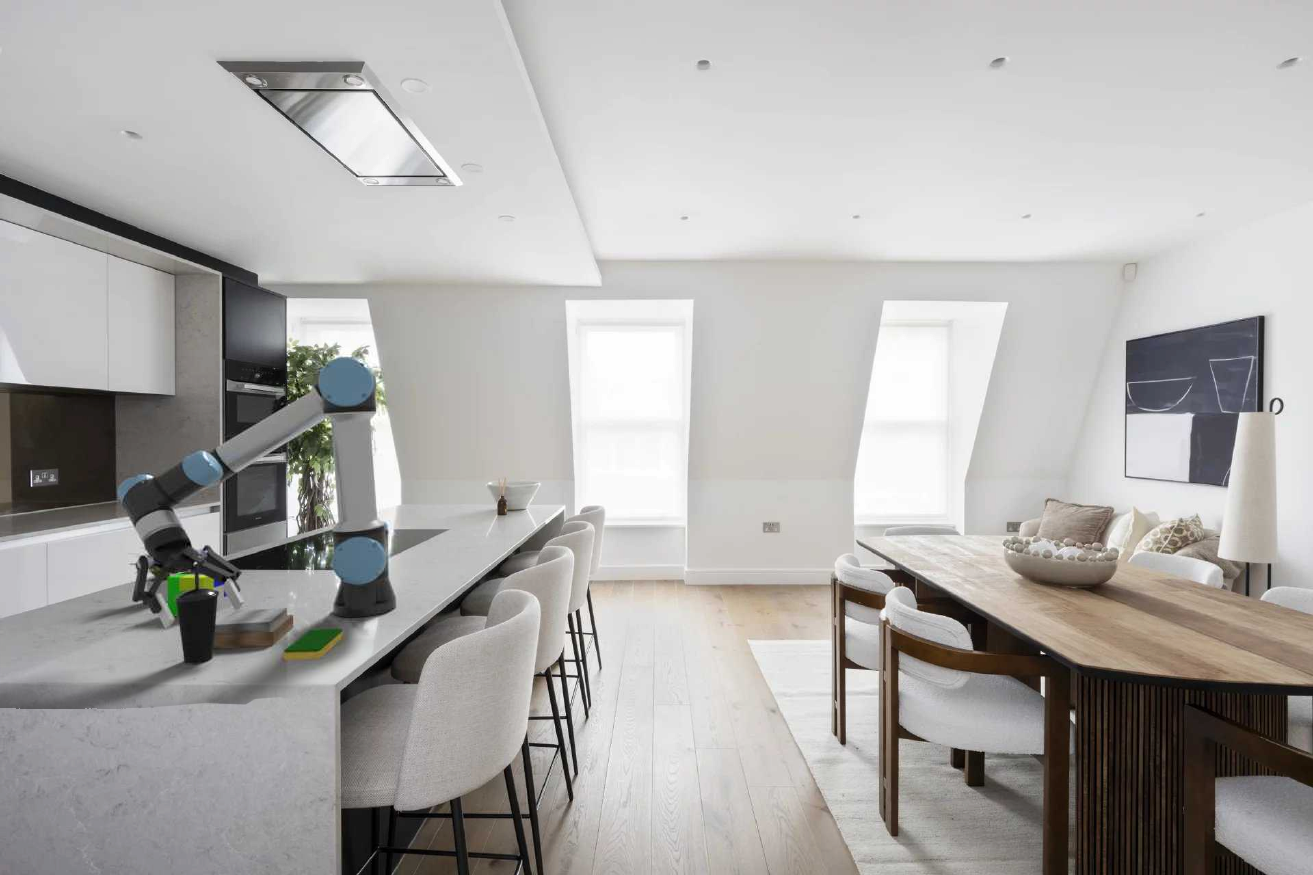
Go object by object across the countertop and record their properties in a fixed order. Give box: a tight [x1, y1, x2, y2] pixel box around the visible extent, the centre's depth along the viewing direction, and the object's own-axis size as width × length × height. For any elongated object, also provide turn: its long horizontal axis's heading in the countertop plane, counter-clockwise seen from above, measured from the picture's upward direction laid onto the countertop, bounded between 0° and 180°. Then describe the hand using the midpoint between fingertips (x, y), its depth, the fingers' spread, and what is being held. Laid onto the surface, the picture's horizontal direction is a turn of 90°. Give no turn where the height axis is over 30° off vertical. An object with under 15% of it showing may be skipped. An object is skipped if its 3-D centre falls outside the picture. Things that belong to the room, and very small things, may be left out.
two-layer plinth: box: [213, 607, 294, 650], centre depth 151 cm, size 13×13×5 cm
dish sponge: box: [283, 628, 344, 661], centre depth 144 cm, size 7×14×2 cm, turn 6°
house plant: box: [126, 546, 172, 603], centre depth 183 cm, size 14×14×16 cm
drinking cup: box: [174, 563, 219, 665], centre depth 136 cm, size 8×8×20 cm
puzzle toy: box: [167, 570, 233, 617], centre depth 173 cm, size 10×10×10 cm
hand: (206, 614), depth 136 cm, fingers open, 13 cm apart
